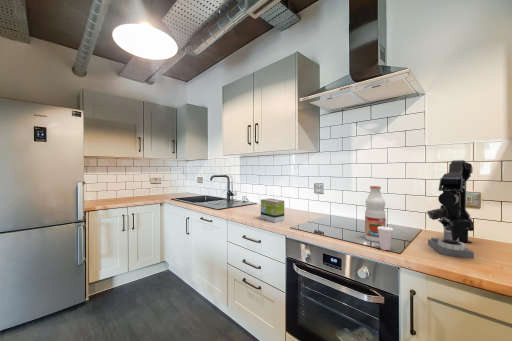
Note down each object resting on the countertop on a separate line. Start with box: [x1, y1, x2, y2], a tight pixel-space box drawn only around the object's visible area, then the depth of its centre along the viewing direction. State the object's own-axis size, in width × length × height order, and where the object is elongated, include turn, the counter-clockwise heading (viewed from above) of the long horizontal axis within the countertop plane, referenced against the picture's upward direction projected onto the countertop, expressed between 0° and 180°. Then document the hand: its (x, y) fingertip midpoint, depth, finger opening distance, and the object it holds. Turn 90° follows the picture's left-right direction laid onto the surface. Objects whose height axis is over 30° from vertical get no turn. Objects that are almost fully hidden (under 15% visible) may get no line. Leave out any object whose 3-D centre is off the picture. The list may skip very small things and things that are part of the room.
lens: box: [443, 226, 459, 245], centre depth 97 cm, size 5×5×8 cm
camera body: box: [427, 236, 475, 259], centre depth 99 cm, size 14×11×4 cm
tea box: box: [260, 198, 285, 224], centre depth 157 cm, size 15×10×15 cm, turn 42°
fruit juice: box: [364, 185, 386, 243], centre depth 114 cm, size 9×9×28 cm
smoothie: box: [378, 217, 394, 251], centre depth 100 cm, size 6×6×14 cm
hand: (451, 238), depth 97 cm, fingers closed on lens, 5 cm apart
